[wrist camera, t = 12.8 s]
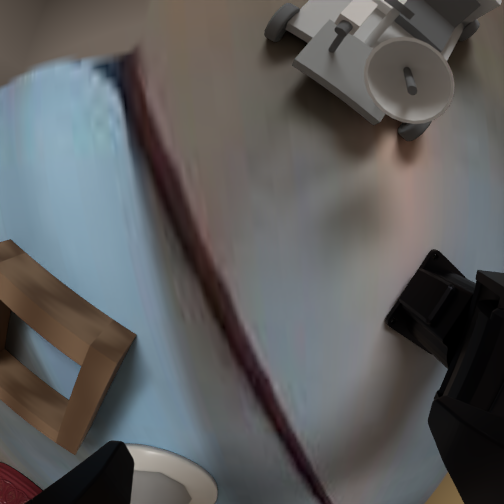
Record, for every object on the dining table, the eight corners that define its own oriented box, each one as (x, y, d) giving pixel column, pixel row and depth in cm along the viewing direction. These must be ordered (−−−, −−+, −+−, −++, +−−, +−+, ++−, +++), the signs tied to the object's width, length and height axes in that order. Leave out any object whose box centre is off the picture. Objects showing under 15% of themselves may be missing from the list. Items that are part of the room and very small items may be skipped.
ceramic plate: (241, 478, 24) (241, 484, 23) (186, 518, 26) (185, 523, 25) (117, 423, 22) (114, 429, 21) (88, 475, 24) (86, 479, 23)
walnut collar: (136, 334, 20) (117, 363, 16) (90, 428, 22) (75, 455, 18) (10, 239, 18) (-22, 249, 14) (-10, 349, 20) (-33, 366, 16)
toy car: (480, 167, 9) (236, -20, 8) (381, 173, 19) (239, 70, 17) (531, -8, 6) (398, -115, 5) (464, 29, 16) (360, -50, 14)
